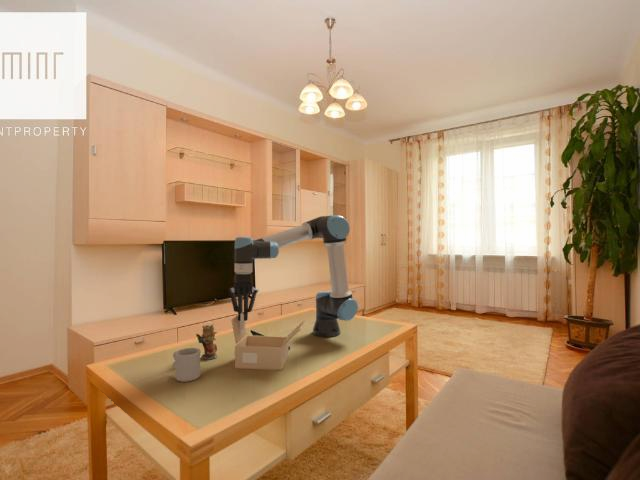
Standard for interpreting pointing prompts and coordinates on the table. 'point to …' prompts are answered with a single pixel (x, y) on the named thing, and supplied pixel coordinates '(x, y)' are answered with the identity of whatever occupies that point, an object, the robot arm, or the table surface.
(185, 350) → the mug
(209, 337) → the figurine
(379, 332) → the table surface
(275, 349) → the carton
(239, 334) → the left flap
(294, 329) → the right flap
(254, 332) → the game console
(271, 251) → the robot arm
